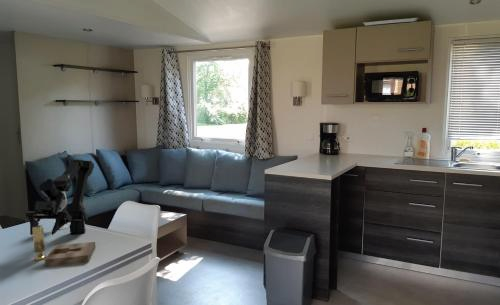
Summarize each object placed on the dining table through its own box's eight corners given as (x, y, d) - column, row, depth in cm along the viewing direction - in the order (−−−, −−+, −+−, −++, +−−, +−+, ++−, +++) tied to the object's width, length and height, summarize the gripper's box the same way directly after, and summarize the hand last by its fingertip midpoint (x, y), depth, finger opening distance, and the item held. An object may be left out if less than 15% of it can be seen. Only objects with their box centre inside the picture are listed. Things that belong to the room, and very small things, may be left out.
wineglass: (49, 228, 196) (46, 190, 193) (62, 224, 202) (60, 187, 200) (59, 230, 192) (55, 191, 190) (71, 226, 199) (69, 188, 196)
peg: (47, 255, 159) (44, 224, 158) (45, 259, 155) (42, 227, 153) (35, 257, 158) (33, 225, 156) (33, 261, 154) (30, 229, 152)
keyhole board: (45, 266, 148) (44, 259, 148) (56, 251, 164) (55, 245, 163) (88, 262, 152) (88, 255, 152) (95, 248, 167) (95, 241, 167)
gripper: (25, 193, 161) (10, 225, 151) (66, 193, 161) (54, 225, 151) (37, 206, 170) (24, 237, 160) (76, 206, 169) (65, 237, 160)
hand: (41, 234), depth 157 cm, fingers open, 9 cm apart
